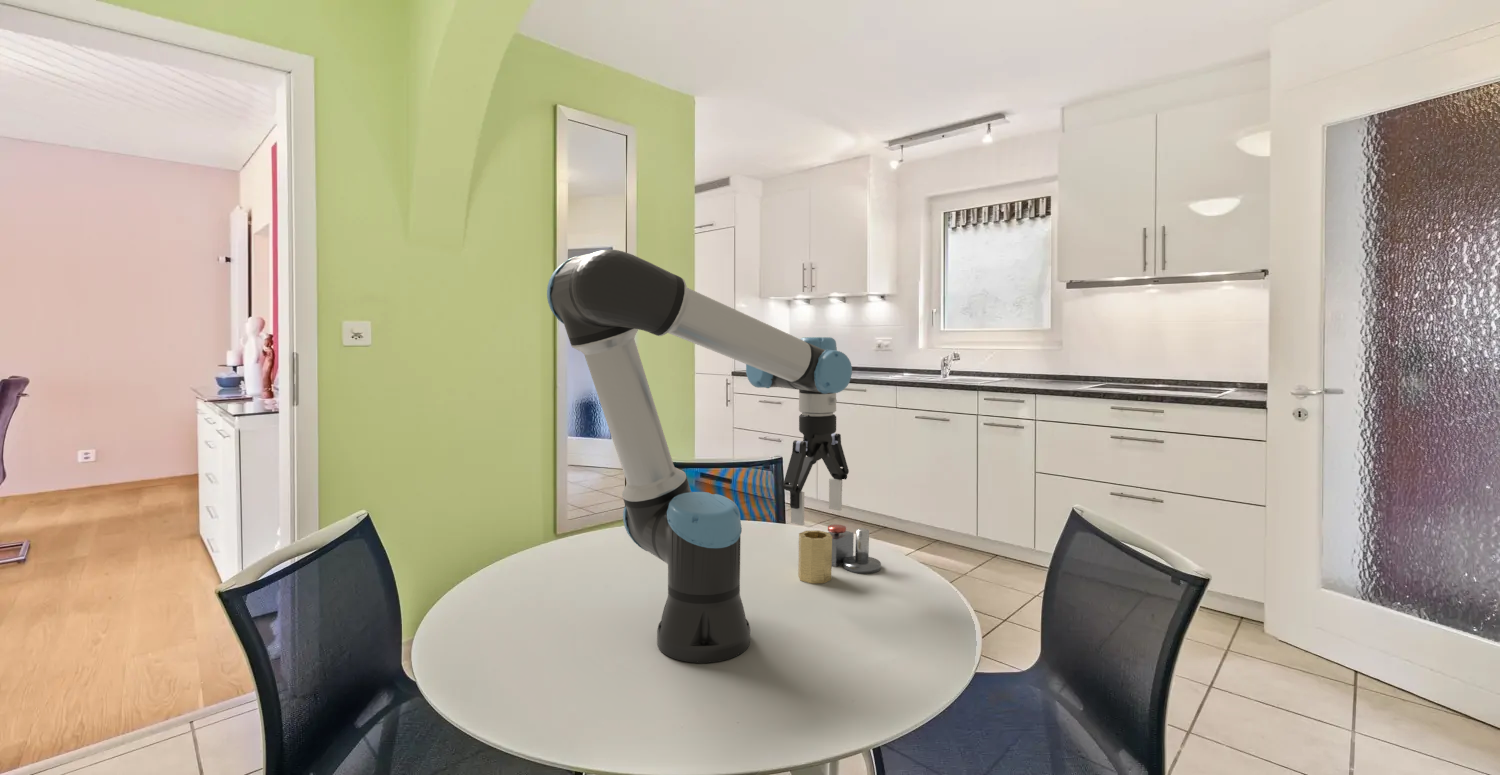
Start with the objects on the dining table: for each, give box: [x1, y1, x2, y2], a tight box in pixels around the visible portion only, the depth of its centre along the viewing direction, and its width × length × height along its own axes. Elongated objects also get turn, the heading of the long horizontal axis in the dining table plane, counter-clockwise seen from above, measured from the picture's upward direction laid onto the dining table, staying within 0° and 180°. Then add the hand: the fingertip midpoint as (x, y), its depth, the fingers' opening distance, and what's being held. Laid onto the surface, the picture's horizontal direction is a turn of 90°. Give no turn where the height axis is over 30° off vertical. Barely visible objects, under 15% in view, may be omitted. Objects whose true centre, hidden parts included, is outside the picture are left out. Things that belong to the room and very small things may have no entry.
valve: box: [827, 523, 882, 575], centre depth 148 cm, size 8×13×8 cm, turn 50°
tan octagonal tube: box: [797, 529, 833, 585], centre depth 140 cm, size 6×6×9 cm
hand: (817, 516), depth 140 cm, fingers open, 13 cm apart
